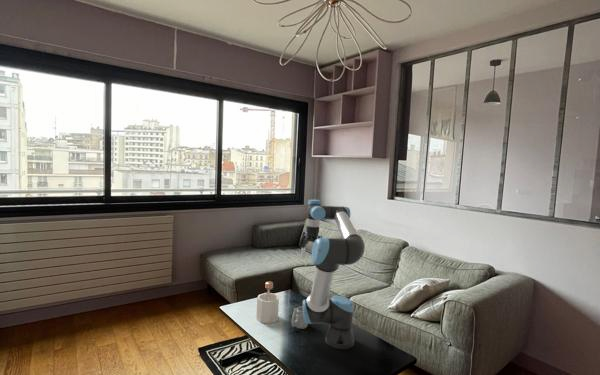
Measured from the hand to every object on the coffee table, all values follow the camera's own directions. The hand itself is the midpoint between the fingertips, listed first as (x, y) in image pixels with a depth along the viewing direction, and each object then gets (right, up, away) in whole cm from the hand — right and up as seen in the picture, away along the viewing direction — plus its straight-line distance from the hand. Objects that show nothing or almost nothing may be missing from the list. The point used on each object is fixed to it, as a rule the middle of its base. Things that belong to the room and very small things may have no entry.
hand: (310, 261), depth 199 cm
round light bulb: (-25, -30, -2) cm, 39 cm away
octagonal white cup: (-27, -33, -1) cm, 43 cm away
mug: (-7, -35, -10) cm, 37 cm away
